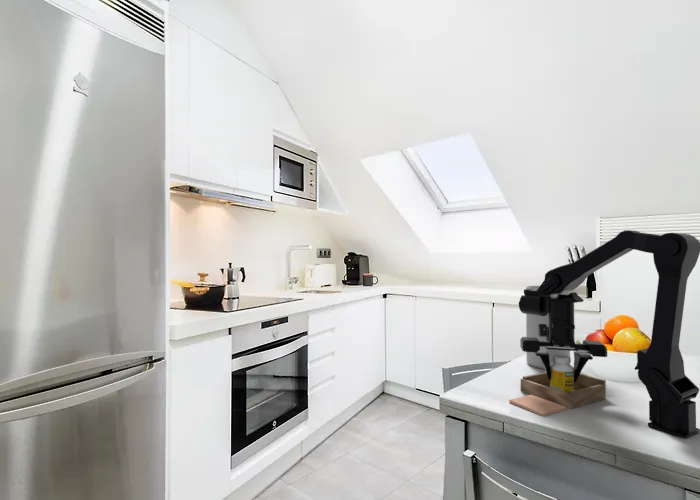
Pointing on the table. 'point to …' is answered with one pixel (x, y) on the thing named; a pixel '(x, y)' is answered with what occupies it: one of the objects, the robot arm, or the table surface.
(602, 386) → the brown wooden tray
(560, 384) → the supplement bottle
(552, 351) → the cylinder vase
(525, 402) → the terracotta tile
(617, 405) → the table surface
